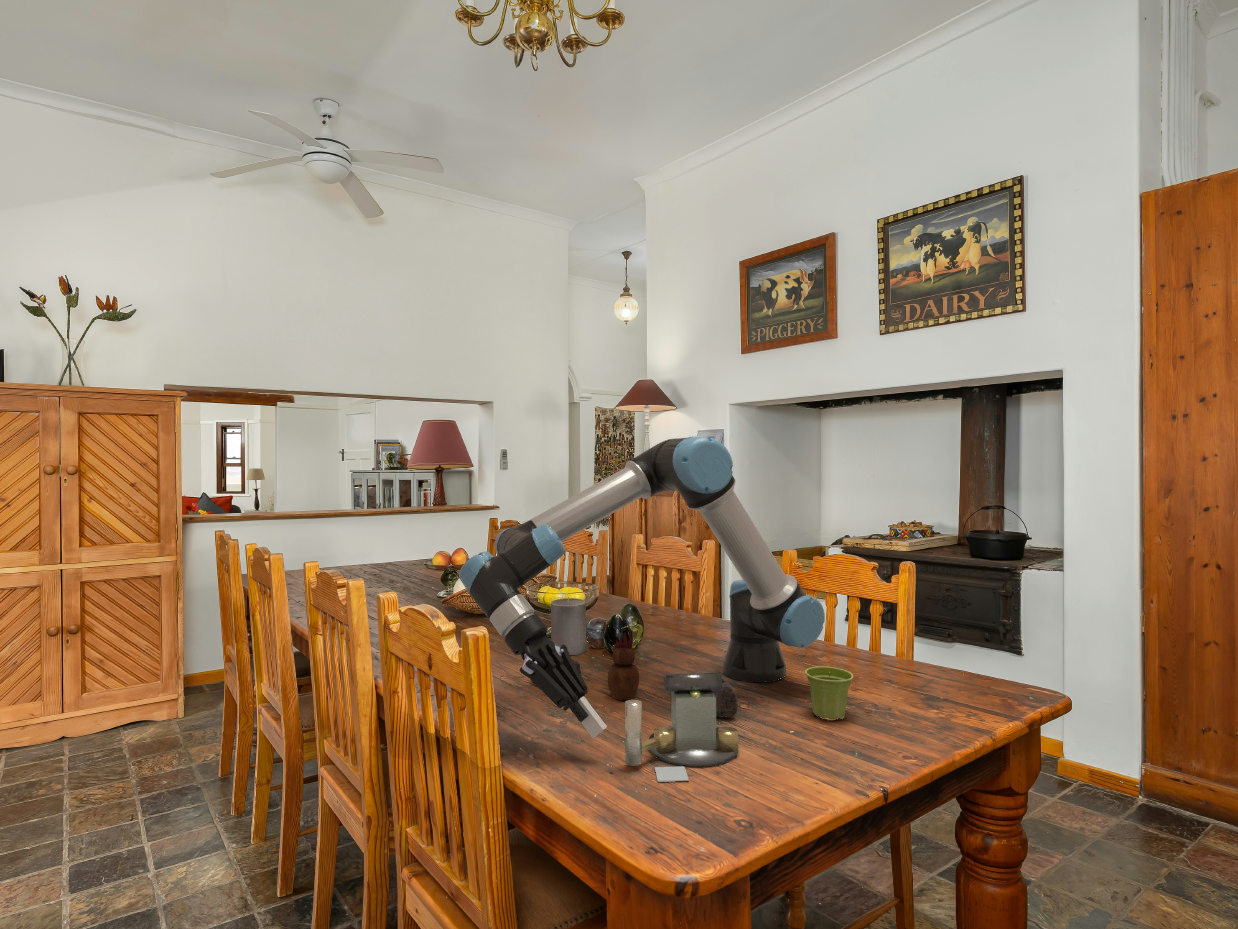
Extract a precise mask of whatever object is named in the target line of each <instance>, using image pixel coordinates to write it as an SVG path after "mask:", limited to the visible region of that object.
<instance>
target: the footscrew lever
mask: <svg viewBox="0 0 1238 929" xmlns="http://www.w3.org/2000/svg"><path fill="white" fill-rule="evenodd" d="M624 708H625V709H624V714H625V715H624V717H625V719H624V720H625V721H624V729H625V730H624V733H625V734H624V738H625V739H624V741H625V743H624V747H625V751H624V752H625V753H624V755H625V756H624V757H625V758H624V759H625V761H624V762H625V764H626V765H627V766H630V767H631V766H633V767H636V766H637V767H638V766H640V765H642V763H643V752H645V751H649V749H651V748H654V749H655V750H657V751H660V752H670V751H673V750H674V749H675V730H674V729H673V728H670V727H669V726H658V727H656V728H654V729H653V733H654V738H652V739H649V738H648V739H646V740H643V721H642V720H643V702H642V701H641V700H639V699H631V700H626V701H624Z"/></svg>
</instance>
